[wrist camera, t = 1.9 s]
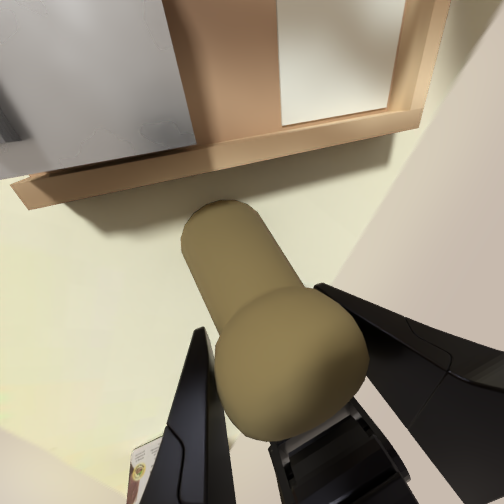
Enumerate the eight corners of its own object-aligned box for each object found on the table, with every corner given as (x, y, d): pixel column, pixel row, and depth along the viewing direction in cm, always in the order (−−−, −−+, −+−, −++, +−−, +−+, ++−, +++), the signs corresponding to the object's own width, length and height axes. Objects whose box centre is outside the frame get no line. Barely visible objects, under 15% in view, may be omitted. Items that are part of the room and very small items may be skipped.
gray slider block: (188, 139, 10) (199, 146, 7) (36, 166, 9) (-29, 187, 6) (125, -105, 7) (93, -302, 4) (-151, -125, 5) (-588, -474, 2)
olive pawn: (280, 222, 16) (434, 349, 7) (239, 286, 17) (320, 455, 8) (206, 181, 13) (313, 317, 4) (165, 264, 14) (169, 496, 5)
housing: (382, 131, 15) (417, 132, 13) (57, 198, 11) (33, 216, 9) (428, -124, 10) (500, -190, 8) (-200, -202, 5) (-433, -412, 3)
